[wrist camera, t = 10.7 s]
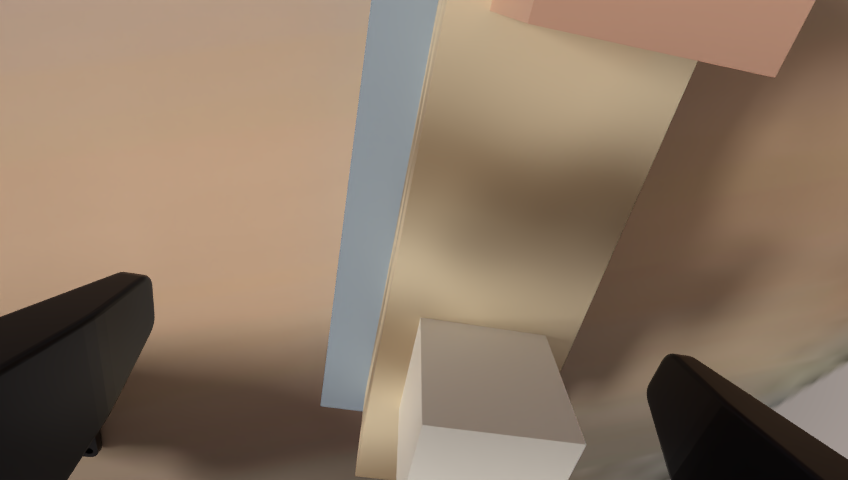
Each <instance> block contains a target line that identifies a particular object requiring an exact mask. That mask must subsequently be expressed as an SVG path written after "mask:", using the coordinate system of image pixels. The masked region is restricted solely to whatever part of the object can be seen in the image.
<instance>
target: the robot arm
mask: <svg viewBox="0 0 848 480" xmlns="http://www.w3.org/2000/svg"><path fill="white" fill-rule="evenodd" d="M153 324H154V302H153V289H152V282H151V279H150V278H149V277H148V276H146V275H141V274H135V273H128V272H120V273H117V274H114V275H111V276H109V277H106V278H103V279H101V280H98V281H95V282H92V283H90V284H87V285H84V286H82V287H79V288H76V289H74V290H71V291H68V292H66V293H63V294H60V295H58V296H55V297H52V298H50V299H47V300H44V301H42V302H39V303H36V304H34V305H31V306H28V307H26V308H23V309H20V310H18V311H15V312H12V313H10V314H7V315H4V316H2V317H0V480H67V479H68V478H69V476H70V475H71V473H72V472H73V470H74V469H75V467H76V466H77V464H78V463H79V461H80V459H81V458H82V456H86V457H94V456H96V455H97V454H98V453H99V451H100V450H101V448H102V442H101V437H100V432H99V430H100V429H101V427H102V425H103V424H104V422H105V420H106V419H107V417H108V416H109V414H110V412H111V410H112V408H113V406H114V404H115V403H116V401H117V399H118V397H119V395H120V393H121V391H122V389H123V387H124V385H125V383H126V381H127V379H128V377H129V375H130V373H131V371H132V369H133V367H134V365H135V363H136V361H137V359H138V357H139V355H140V353H141V351H142V349H143V347H144V345H145V343H146V341H147V339H148V337H149V335H150V333H151V331H152V328H153ZM647 400H648V403H649V407H650V410H651V414H652V417H653V421H654V424H655V428H656V431H657V435H658V438H659V442H660V445H661V449H662V452H663V455H664V459H665V462H666V466H667V469H668V472H669V475H670V479H671V480H848V459H846V458H845V457H843V456H842V455H840V454H838V453H837V452H836V451H834V450H833V449H831V448H829V447H828V446H826V445H825V444H824V443H822V442H821V441H819V440H818V439H816V438H814V437H813V436H811V435H810V434H808V433H807V432H805V431H804V430H802V429H801V428H799V427H798V426H796V425H795V424H793V423H792V422H790V421H789V420H787V419H786V418H784V417H783V416H781V415H780V414H778V413H776V412H775V411H774V410H772V409H771V408H769V407H768V406H766V405H765V404H763V403H762V402H760V401H759V400H757V399H756V398H754V397H753V396H751V395H750V394H748V393H747V392H745V391H744V390H742V389H740V388H739V387H737V386H736V385H734V384H733V383H731V382H730V381H728V380H727V379H725V378H724V377H722V376H721V375H719V374H718V373H716V372H715V371H713V370H712V369H710V368H709V367H707V366H706V365H704V364H703V363H701V362H700V361H698V360H697V359H695V358H693V357H691V356H686V355H679V354H668V355H667V356H666V357H664V359H663V360H662V362H661V364H660V366H659V367H658V369H657V371H656V373H655V374H654V376H653V378H652V380H651V381H650V383H649V385H648V388H647Z"/></svg>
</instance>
